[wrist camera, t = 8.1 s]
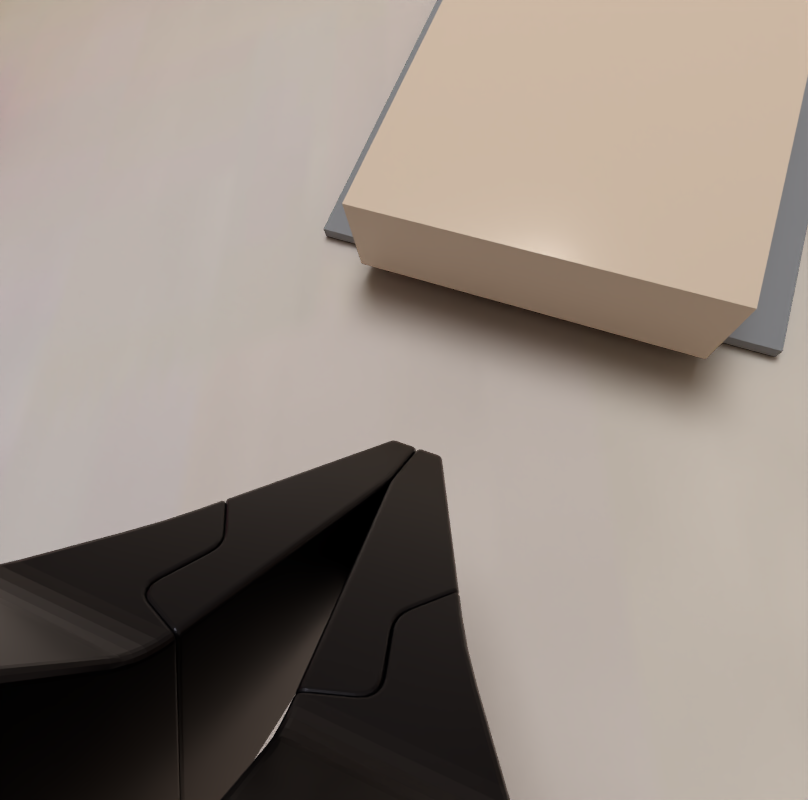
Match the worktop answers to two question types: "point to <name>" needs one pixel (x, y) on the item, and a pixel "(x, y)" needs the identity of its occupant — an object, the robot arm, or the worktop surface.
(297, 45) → the worktop surface
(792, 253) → the slate mat
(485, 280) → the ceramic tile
